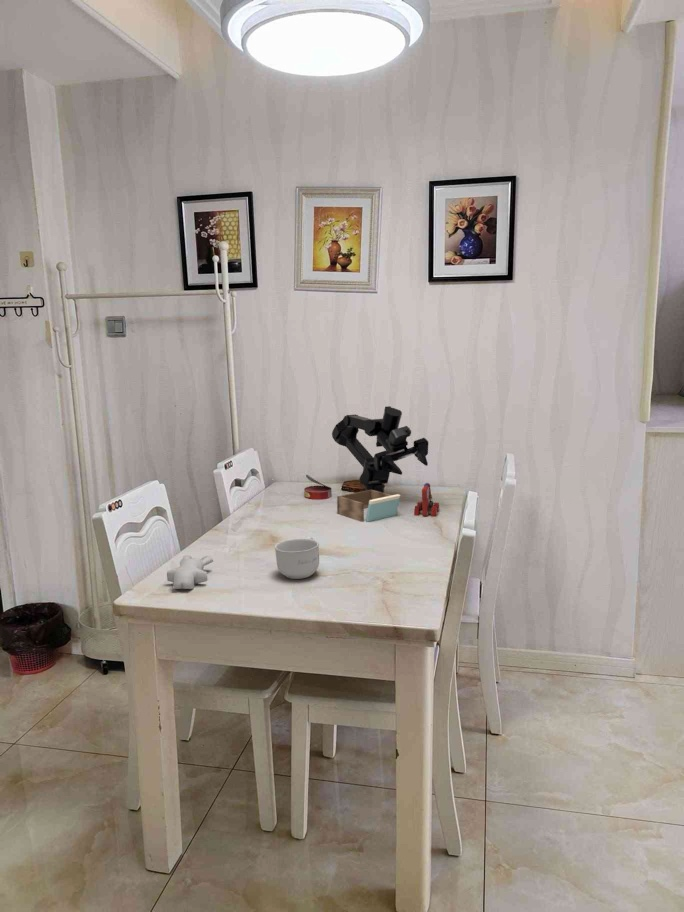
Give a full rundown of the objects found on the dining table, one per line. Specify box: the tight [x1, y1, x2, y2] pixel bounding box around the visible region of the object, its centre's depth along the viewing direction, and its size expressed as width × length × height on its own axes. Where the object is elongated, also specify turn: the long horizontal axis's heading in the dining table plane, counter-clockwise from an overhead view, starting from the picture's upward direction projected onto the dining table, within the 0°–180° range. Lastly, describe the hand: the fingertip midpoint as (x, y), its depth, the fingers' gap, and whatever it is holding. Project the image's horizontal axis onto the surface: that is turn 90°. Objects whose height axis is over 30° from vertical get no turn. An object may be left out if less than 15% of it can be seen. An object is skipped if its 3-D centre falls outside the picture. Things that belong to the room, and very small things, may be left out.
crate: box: [336, 490, 392, 523], centre depth 216 cm, size 12×14×7 cm
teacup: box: [274, 536, 320, 580], centre depth 167 cm, size 14×11×8 cm
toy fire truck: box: [413, 482, 440, 518], centre depth 217 cm, size 7×12×10 cm, turn 165°
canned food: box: [304, 474, 333, 501], centre depth 244 cm, size 11×10×10 cm
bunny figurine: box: [166, 555, 214, 590], centre depth 163 cm, size 10×5×15 cm
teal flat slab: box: [364, 493, 401, 523], centre depth 210 cm, size 1×12×7 cm, turn 129°
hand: (414, 468), depth 212 cm, fingers open, 9 cm apart
